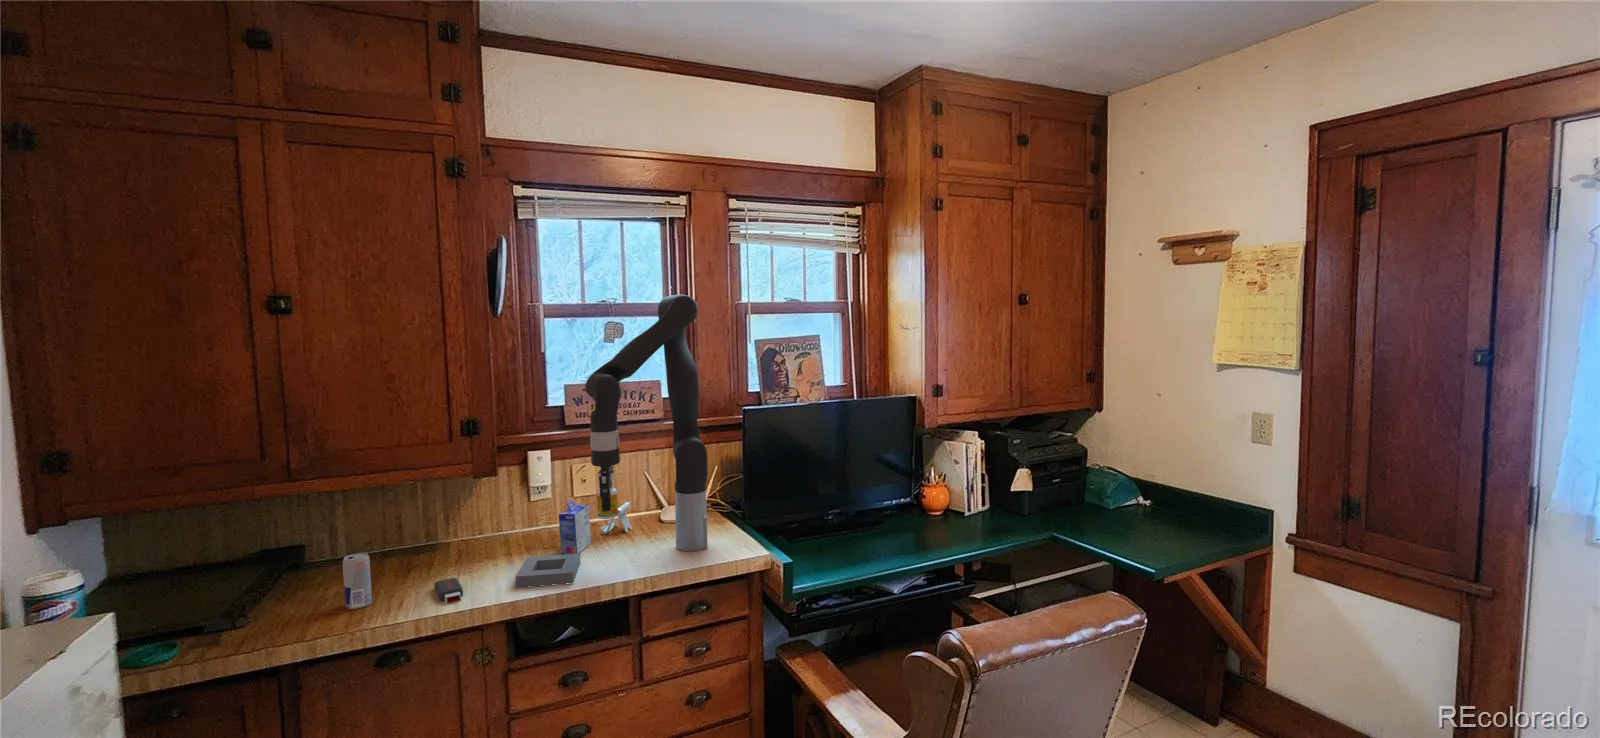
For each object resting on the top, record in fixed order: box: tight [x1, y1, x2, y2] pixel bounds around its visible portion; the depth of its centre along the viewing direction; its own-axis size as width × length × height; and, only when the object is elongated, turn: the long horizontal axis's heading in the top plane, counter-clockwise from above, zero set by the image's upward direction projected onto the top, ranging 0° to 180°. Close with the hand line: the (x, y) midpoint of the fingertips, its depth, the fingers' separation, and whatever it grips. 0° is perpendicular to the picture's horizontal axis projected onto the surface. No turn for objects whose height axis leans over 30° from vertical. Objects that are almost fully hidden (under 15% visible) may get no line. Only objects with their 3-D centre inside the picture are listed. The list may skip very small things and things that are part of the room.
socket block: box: [515, 553, 581, 589], centre depth 177 cm, size 14×14×3 cm
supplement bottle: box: [596, 480, 619, 520], centre depth 181 cm, size 5×5×10 cm
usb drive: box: [433, 577, 464, 605], centre depth 166 cm, size 5×12×3 cm, turn 36°
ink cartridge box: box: [558, 499, 592, 555], centre depth 197 cm, size 10×6×14 cm, turn 174°
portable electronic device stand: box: [600, 501, 633, 535], centre depth 214 cm, size 9×8×8 cm
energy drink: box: [342, 552, 373, 610], centre depth 159 cm, size 5×5×12 cm
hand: (607, 507), depth 182 cm, fingers closed on supplement bottle, 5 cm apart
